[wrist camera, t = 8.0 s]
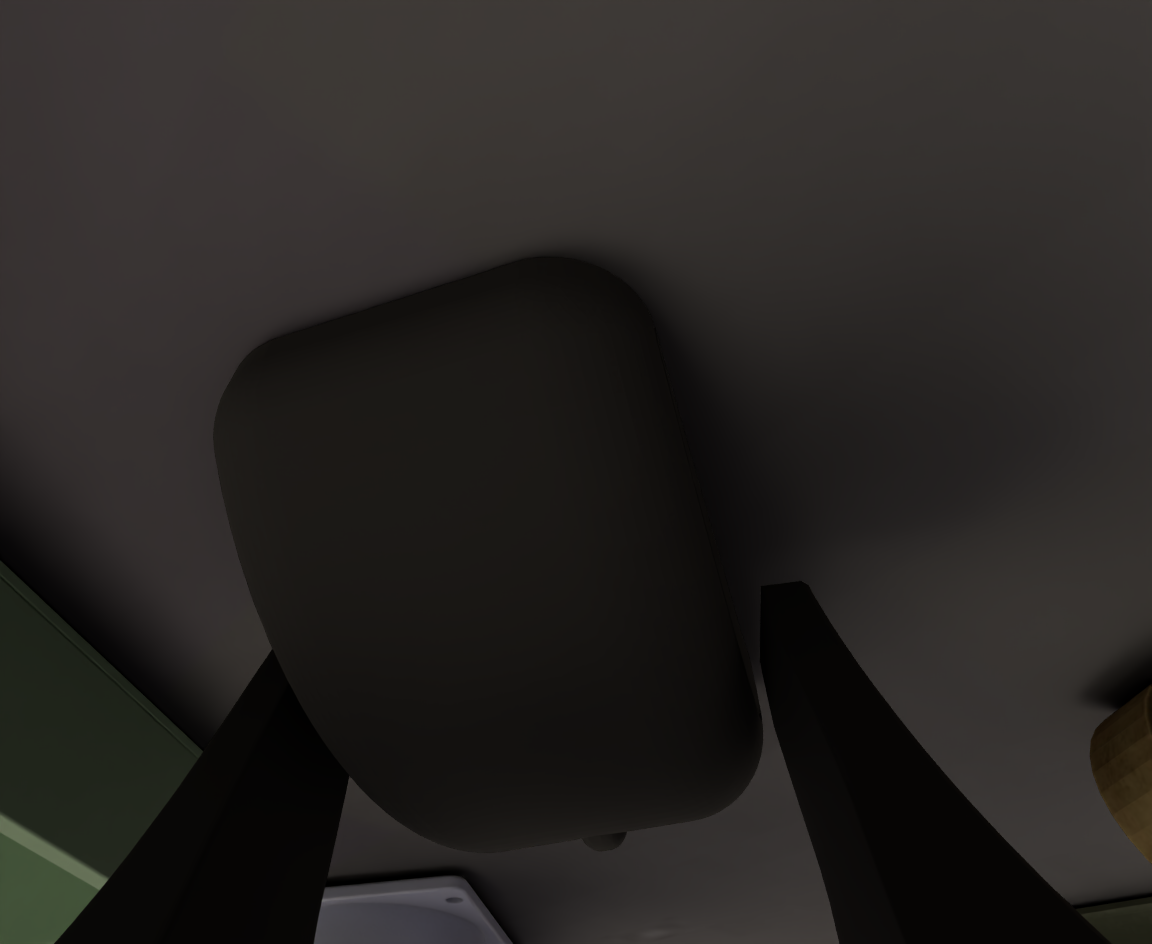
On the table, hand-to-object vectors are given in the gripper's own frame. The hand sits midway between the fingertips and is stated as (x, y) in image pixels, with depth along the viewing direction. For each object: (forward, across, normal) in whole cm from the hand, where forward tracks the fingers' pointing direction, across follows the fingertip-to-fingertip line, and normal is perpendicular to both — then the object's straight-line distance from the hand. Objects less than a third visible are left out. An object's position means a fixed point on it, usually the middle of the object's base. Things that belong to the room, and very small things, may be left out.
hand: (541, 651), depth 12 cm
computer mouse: (+2, 0, 0) cm, 2 cm away
